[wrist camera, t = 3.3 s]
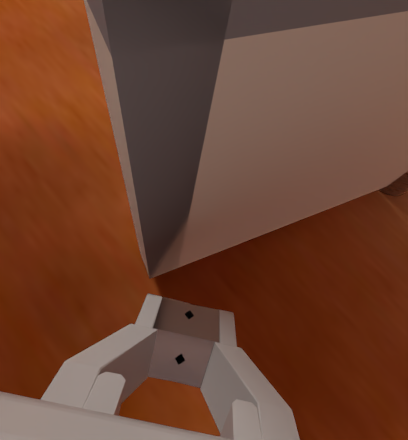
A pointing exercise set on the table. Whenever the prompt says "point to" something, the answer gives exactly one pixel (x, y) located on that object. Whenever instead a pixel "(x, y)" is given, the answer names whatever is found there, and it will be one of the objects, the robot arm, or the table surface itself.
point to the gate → (249, 113)
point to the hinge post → (397, 186)
